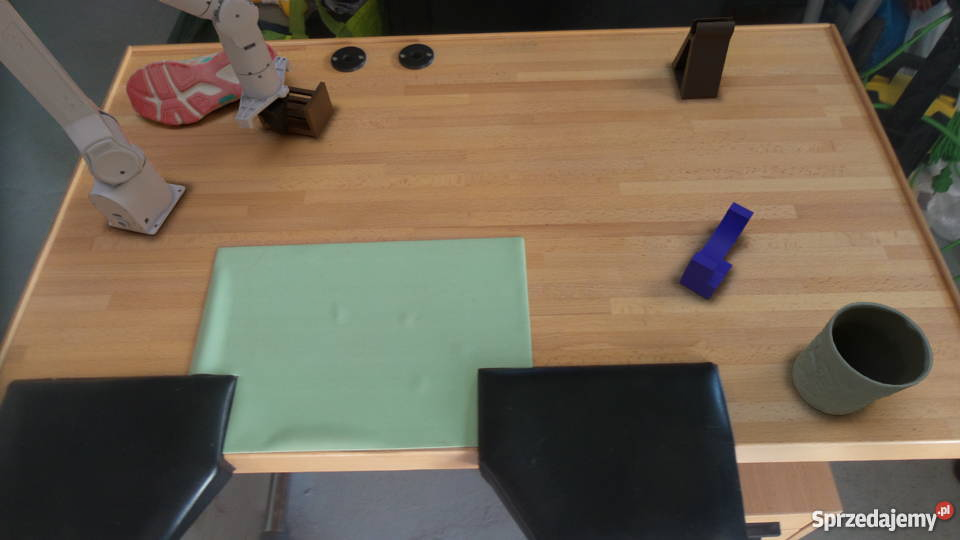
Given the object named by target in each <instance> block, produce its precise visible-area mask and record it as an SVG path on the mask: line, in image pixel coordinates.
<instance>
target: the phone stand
mask: <svg viewBox="0 0 960 540" xmlns="http://www.w3.org/2000/svg"><path fill="white" fill-rule="evenodd" d="M735 28H736V21H735V20H734V17H733V16H730V17H729V16H727V17H706V18H705V17H704V18H694V19H693V20H692V21H691V25H690V29H689V31H688V33H687V35H686V37H685V39H684V40H683V43H682V44H681V46H680V48H679V49H678V51H677V53H676V55H675V57H674V58H673V60H672V62H671V66H670V67H671V69H672V72H673V76H674V79H675V82H676V85H677V88H678V92H679V95H680V98H681V99H704V98H717V97H718V94H719V90H720V85H721V81H722V76H723V73H724V72H723V71H724V69H725V64H726V61H727V55H728V51H729V47H730V42H731V40H732V37H733V34H734V32H735Z"/></svg>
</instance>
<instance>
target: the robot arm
mask: <svg viewBox="0 0 960 540" xmlns="http://www.w3.org/2000/svg"><path fill="white" fill-rule="evenodd" d="M157 1H159V2H161V3H162V4H166V5H167V6H170V7H173V8H175V9H177V10H179V11H182V12H185V13H187V14H190V15H191V16H194V17H197V18H200V19H204V20H211V21H212V25H213V27H214V29H215V31H216V33H217V36H218V38H219V43H220V44H221V47H222V50H223V49H224V51H225V53H226V55H227V57H228V59H229V61H230V63H231V66H232V68H233V70H234V72H235V74H236V76H237V78H238V81H239V83H240V85H241V87H242V95H241V99H239V100H240V101H239V106H238V111H237V113H236V115H235V117H234V119H235V121H236V123H237V125H238V127H239V128H242V129H245V130H246V129H247V130H252V129H253V128H254V126H255V123H254V122H253V121H254V120H255V118H256V116H258V115H259V116H260V117H261V118H263V119H264V120H265V121H266V122H267V123H268V124H269V125H270V127H271V128H272V129H271V128H270V129H271V130H273V131H274V133H278V134H283V135H286V134H287V133H288V132H287V131H288V124H289V122H288V118H287V103H288V98H289V95H290V93H289V88H288V86H289V85H286V84H285V81H286V74H287V73H286V72H290V71H291V69H292V67H293V66H292V64H291V63H290V59H289V57H285V56H280V55H279V56H277V57H276V58H275V59H274V60H273V61H272V58H271V56H270V53H269V51H268V48H267V46H266V43H267V42H266V40H265V38H264V36H263V33H262V30H261V29H260V27H259V25H258V22H259V17H260V16H259V15H260V12H259V7H258V6H257V5H255V4H254V2H253V0H157ZM0 62H1V64H3V65H4V66H5V67H6V68H7V70H8V71H9V72H10V73H11V74H12V75H13V76H14V77H15V78H16V79H17V80H18V81H19V83H20V84H21V85H22V86H23V87H24V88H25V89H26V90H27V91H28V92H29V93H30V95H32V97H33V98H34V99H35V100H36V101H37V102H38V103H39V104H40V105H41V106H42V107H43V109H45V111H46V112H48V114H49V115H50V116H51V117H52V118H53V119H54V121H56V122H57V124H59V126H60V127H61V128H62V129H63V131H64V132H65V134H66V135H67V136H68V137H69V140H71V141H72V143H73V144H74V146H75V147H76V149H77V150H78V151H79V154H80V156H81V157H82V159H83V161H84V162H85V164H86V166H87V169H88V171H89V173H90V175H91V176H92V177H93V184H92V187H91V190H90V192H89V194H88V197H87V198H88V200H89V202H90V203H91V204H92V205H93V206H94V207H95V208H96V210H97V211H98V212H99V213H101V215H102V216H103V217H104V218H105V219H106V220H107V221H108V223H107V224H108V225H109V226H110V227H113V228H118V229H122V230H127V231H131V232H136V233H141V234H145V235H150V236H154V235H156V234H157V233H158V231H159V229H160V228H162V227H161V226H162V225H163V224H164V222H165V220H166V219H167V218H168V216H169V215H170V213H171V212H172V211H173V209H174V207H176V204H177V203H178V202H179V200H180V199H181V198H182V196H183V194H184V193H185V192H186V187H185V186H184V185H178V184H174V183H168V182H167V181H166V180H165V178H164V177H163V176H162V175H161V173H160V172H159V171H158V170H157V168H156V166H155V165H154V164H153V163H152V161H151V159H149V158H148V156H147V155H146V153H145V152H144V151H143V149H142V148H141V147H140V146H138V145H136V144H134V143H131V142H130V140H129V139H128V137H127V135H126V134H125V132H124V131H123V129H122V127H121V124H120V123H119V121H118V119H117V118H116V117H115V116H114V115H113V114H111V113H110V112H107V111H106V110H103V109H101V108H99V107H98V106H97V105H96V103H95V102H93V100H92V99H91V98H88V96H87V95H86V94H85V93H84V92H83V90H82V89H81V88H80V87H79V85H78V84H77V83H76V82H75V81H74V79H73V78H72V77H71V75H70V74H69V73H68V72H67V71H66V69H65V68H64V67H63V66H62V65H61V63H60V62H59V61H58V60H57V59H56V58H55V56H54V55H53V54H52V53H51V51H50V50H49V49H48V48H47V46H46V45H45V44H44V43H43V41H41V39H40V38H39V37H38V36H37V34H36V33H35V32H34V31H33V29H32V28H31V27H30V26H29V25H28V23H27V22H26V21H25V20H24V19H23V17H22V16H21V15H20V13H18V11H17V10H16V9H15V8H14V7H13V5H12V4H11V3H10V2H9V0H0Z"/></svg>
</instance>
